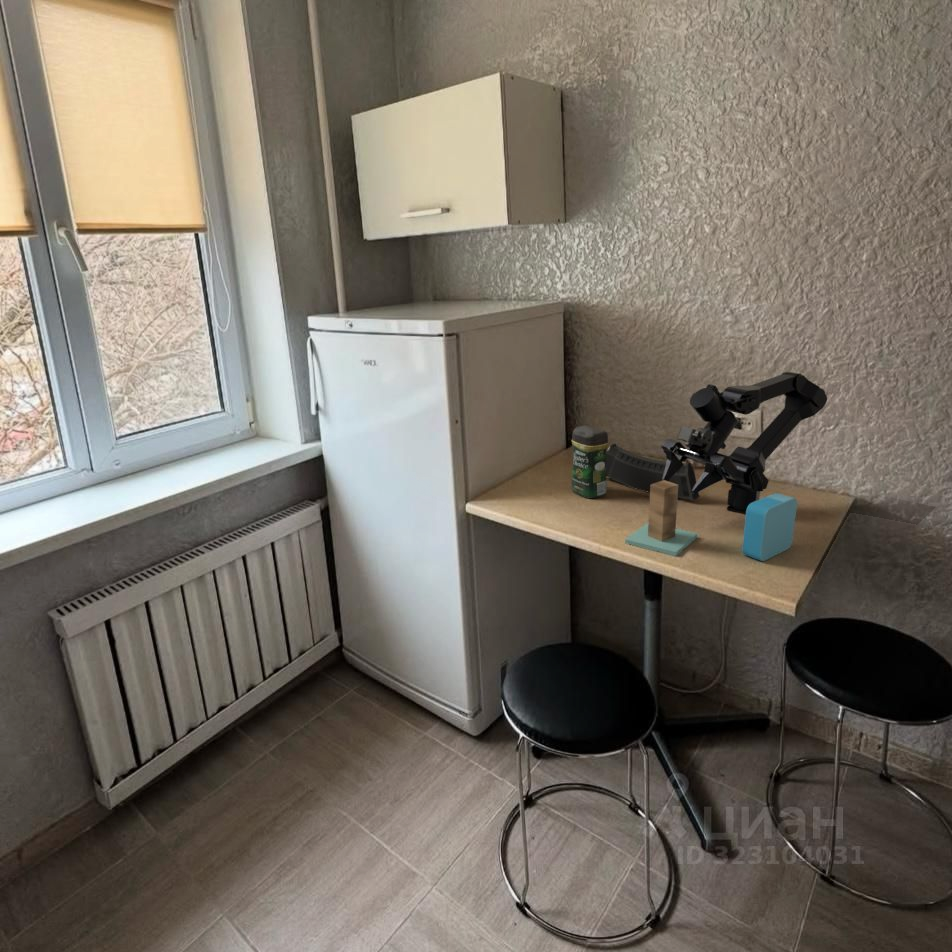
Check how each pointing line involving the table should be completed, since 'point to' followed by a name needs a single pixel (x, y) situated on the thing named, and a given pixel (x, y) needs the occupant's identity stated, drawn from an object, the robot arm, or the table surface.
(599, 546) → the table surface
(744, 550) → the data package
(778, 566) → the table surface
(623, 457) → the magazine
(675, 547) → the teal board
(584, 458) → the coffee jar
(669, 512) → the walnut block
